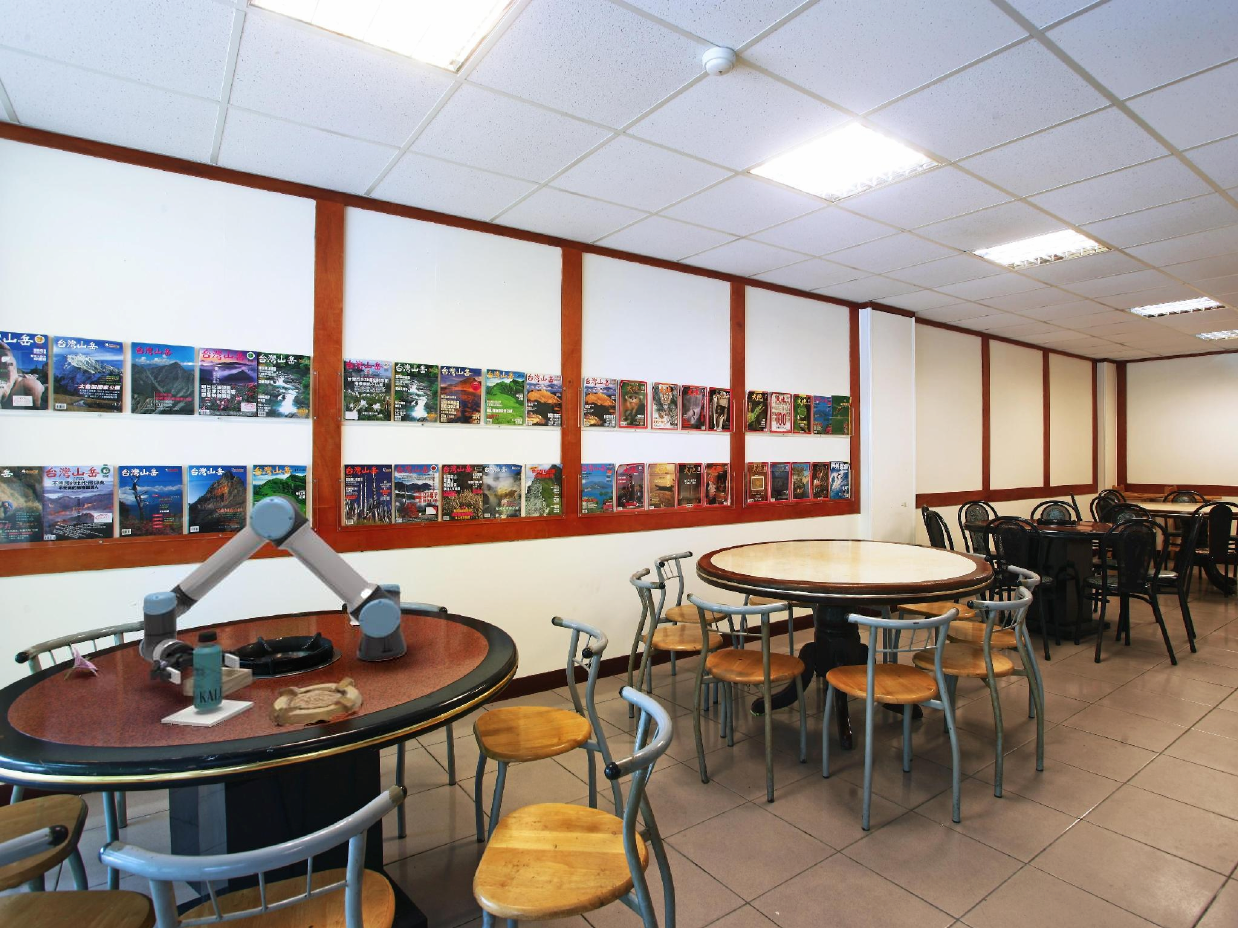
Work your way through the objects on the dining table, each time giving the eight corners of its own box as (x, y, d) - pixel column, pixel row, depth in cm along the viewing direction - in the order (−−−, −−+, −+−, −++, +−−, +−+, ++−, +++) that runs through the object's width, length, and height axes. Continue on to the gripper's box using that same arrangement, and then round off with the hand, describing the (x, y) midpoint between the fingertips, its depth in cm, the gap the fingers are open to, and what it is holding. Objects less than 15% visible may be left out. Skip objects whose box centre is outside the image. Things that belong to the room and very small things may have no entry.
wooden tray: (252, 683, 189) (251, 669, 189) (220, 698, 178) (219, 683, 178) (217, 680, 192) (217, 667, 192) (183, 695, 180) (183, 680, 180)
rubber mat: (253, 706, 172) (253, 702, 172) (210, 728, 158) (210, 723, 158) (207, 702, 175) (207, 698, 175) (161, 723, 161) (161, 719, 161)
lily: (83, 687, 190) (102, 654, 194) (39, 674, 188) (59, 641, 191) (99, 687, 201) (117, 655, 204) (57, 674, 198) (76, 643, 202)
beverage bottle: (201, 706, 170) (200, 629, 169) (228, 705, 170) (227, 628, 170) (187, 716, 163) (185, 636, 163) (215, 715, 164) (214, 635, 163)
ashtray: (294, 692, 183) (294, 674, 183) (379, 692, 182) (379, 674, 182) (243, 728, 159) (243, 707, 159) (340, 728, 159) (340, 708, 158)
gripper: (224, 657, 189) (260, 672, 176) (119, 682, 168) (151, 700, 156) (224, 631, 188) (260, 644, 176) (119, 653, 168) (151, 669, 156)
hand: (209, 670), depth 166 cm, fingers open, 13 cm apart
